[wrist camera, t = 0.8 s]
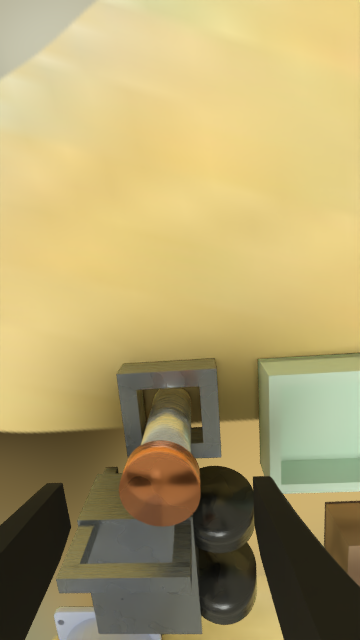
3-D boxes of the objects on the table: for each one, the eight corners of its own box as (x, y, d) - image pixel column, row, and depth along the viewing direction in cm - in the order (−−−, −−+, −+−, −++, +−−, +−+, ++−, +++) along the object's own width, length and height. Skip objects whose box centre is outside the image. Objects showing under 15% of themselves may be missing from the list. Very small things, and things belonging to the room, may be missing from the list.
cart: (249, 553, 20) (278, 706, 13) (118, 555, 21) (81, 703, 14) (246, 455, 18) (277, 572, 12) (103, 460, 19) (53, 575, 12)
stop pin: (199, 424, 18) (203, 525, 11) (149, 426, 18) (124, 527, 11) (195, 377, 17) (197, 455, 11) (144, 380, 18) (113, 458, 11)
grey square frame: (218, 440, 18) (221, 457, 17) (133, 443, 19) (128, 461, 17) (214, 358, 17) (216, 368, 15) (123, 363, 17) (116, 374, 16)
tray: (374, 458, 18) (402, 490, 16) (260, 462, 18) (270, 494, 16) (382, 351, 16) (415, 367, 14) (258, 358, 17) (268, 375, 14)
